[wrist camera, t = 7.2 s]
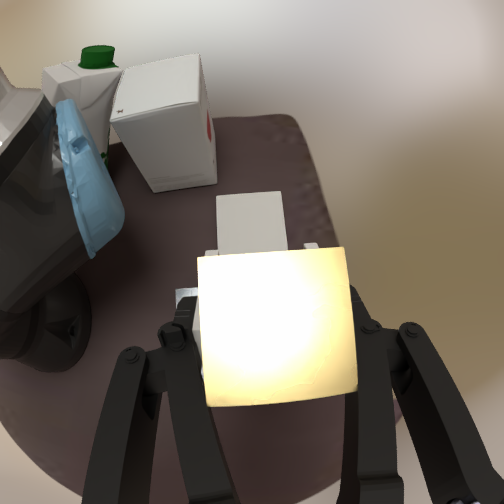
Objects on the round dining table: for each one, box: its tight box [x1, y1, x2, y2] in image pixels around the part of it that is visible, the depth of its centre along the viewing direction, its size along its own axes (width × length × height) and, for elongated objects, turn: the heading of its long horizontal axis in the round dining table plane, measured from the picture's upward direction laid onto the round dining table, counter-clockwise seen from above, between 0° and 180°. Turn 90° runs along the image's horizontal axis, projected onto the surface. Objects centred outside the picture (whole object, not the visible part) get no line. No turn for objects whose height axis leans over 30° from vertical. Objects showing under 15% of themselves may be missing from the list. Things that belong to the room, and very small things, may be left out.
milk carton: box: [42, 45, 123, 171], centre depth 28 cm, size 9×9×20 cm
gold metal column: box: [198, 247, 358, 407], centre depth 15 cm, size 5×5×12 cm
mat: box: [216, 191, 288, 256], centre depth 34 cm, size 8×8×1 cm
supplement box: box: [110, 53, 217, 193], centre depth 30 cm, size 9×9×15 cm
